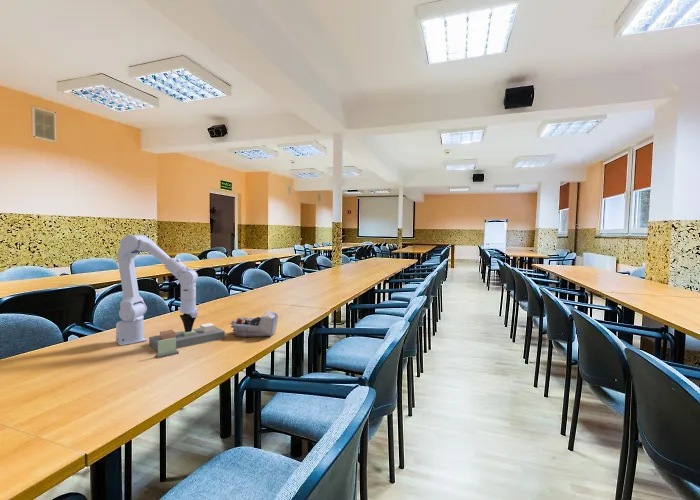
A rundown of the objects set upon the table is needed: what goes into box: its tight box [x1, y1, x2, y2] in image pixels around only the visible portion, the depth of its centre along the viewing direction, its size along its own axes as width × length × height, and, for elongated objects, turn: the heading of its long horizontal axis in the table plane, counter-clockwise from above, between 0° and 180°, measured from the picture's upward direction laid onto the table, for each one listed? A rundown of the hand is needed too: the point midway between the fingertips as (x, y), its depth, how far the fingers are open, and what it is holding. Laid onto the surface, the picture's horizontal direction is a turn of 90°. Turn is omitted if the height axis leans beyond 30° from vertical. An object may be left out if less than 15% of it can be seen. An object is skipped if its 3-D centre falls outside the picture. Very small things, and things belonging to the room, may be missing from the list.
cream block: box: [199, 322, 216, 333], centre depth 148 cm, size 4×4×4 cm
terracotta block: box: [159, 329, 176, 340], centre depth 136 cm, size 4×4×4 cm
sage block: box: [181, 330, 196, 337], centre depth 142 cm, size 4×4×4 cm
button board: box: [148, 326, 226, 352], centre depth 142 cm, size 26×12×3 cm, turn 135°
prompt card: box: [155, 338, 179, 359], centre depth 126 cm, size 7×3×6 cm, turn 135°
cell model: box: [229, 309, 279, 338], centre depth 154 cm, size 13×11×20 cm
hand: (188, 331), depth 142 cm, fingers closed, pressing on sage block
